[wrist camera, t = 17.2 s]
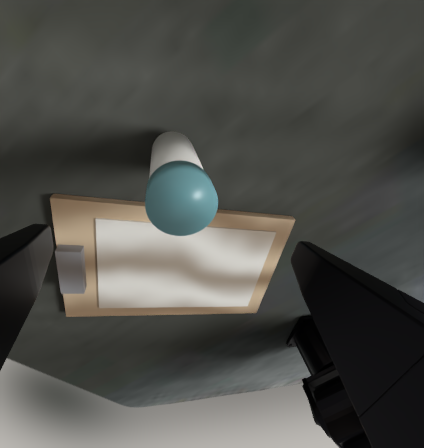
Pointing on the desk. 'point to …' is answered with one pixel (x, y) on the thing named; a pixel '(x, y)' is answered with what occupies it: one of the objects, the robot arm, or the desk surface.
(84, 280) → the clipboard
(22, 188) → the desk surface
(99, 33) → the desk surface
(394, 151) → the desk surface
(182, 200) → the marker
